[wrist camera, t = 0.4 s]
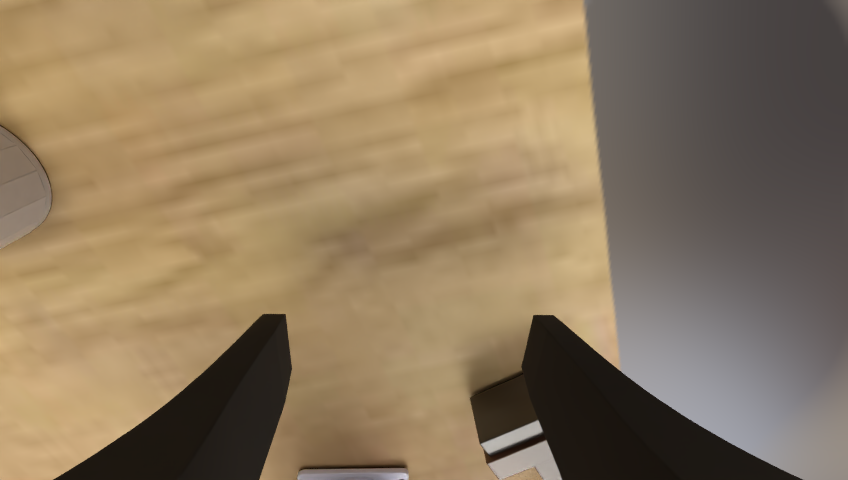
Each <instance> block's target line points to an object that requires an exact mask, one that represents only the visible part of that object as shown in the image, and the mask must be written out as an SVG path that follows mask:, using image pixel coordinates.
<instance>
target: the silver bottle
mask: <svg viewBox="0 0 848 480" xmlns="http://www.w3.org/2000/svg"><path fill="white" fill-rule="evenodd" d="M51 201H52V194H51V187H50V184H49V180H48V178H47V176H46V173H45V171H44V169H43V168H42V166H41V164H40V163H39V161H38V160H37V158H36V157H35V156H34V155H33V153H32V152H31V151H30V150H29V149H28V148H27V147H26V146H25V145H24V144H23V143H22V142H21V141H20V140H19V139H18V138H16V137H15V136H14V135H13V134H11V133H10V132H9V131H7V130H6V129H4V128H3V127H1V126H0V249H2V248H4V247H5V246H7V245H9V244H11V243H12V242H14V241H16V240H18V239H20V238H21V237H23V236H25V235H27V234H29V233H30V232H31V231H32V230H33V229H35V228H36V227H38V226H39V225H40V224H41V223H42V222H43V221H44V220H45V218H46V217H47V215H48V213H49V211H50V207H51Z"/></svg>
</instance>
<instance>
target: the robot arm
mask: <svg viewBox="0 0 848 480" xmlns="http://www.w3.org/2000/svg"><path fill="white" fill-rule="evenodd" d="M522 370H523V374H524V378H525V382H526V386H527V390H528V393H529V397H530V400H531V403H532V405H533V408H534V410H535V413H536V416H537V418H538V421H539V423H540V426H541V428H542V431H543V433H544V435H545V438H546V440H547V443H548V445H549V448H550V450H551V453H552V455H553V458H554V460H555V463H556V465H557V468H558V470H559V472H560V475H561V478H562V480H802V479H800V478H798V477H796V476H794V475H791V474H789V473H787V472H785V471H783V470H781V469H779V468H777V467H775V466H773V465H771V464H769V463H767V462H765V461H763V460H761V459H759V458H757V457H755V456H753V455H751V454H749V453H747V452H746V451H744V450H742V449H740V448H738V447H736V446H734V445H732V444H731V443H729V442H727V441H725V440H723V439H722V438H720V437H718V436H716V435H715V434H713V433H711V432H710V431H708V430H706V429H704V428H703V427H701V426H699V425H698V424H696V423H694V422H693V421H691V420H689V419H688V418H686V417H685V416H683V415H681V414H680V413H678V412H677V411H675V410H674V409H672V408H671V407H669V406H668V405H666V404H665V403H663V402H662V401H660V400H659V399H657V398H656V397H654V396H653V395H651V394H650V393H649V392H647V391H646V390H644V389H643V388H642V387H640V386H639V385H638V384H636V383H635V382H634V381H632V380H631V379H630V378H628V377H627V376H626V375H624V374H623V373H622V372H621V371H619V370H618V369H617V368H616V367H614V366H613V365H612V364H611V363H609V362H608V361H607V360H606V359H604V358H603V357H602V356H601V355H600V354H598V353H597V352H596V351H595V350H594V349H593V348H591V347H590V346H589V345H588V344H587V343H586V342H584V341H583V340H582V339H581V338H580V337H579V336H577V335H576V334H575V333H574V332H573V331H572V330H570V329H569V328H568V327H567V326H566V325H565V324H563V323H562V322H561V321H560V320H559V319H557V318H556V317H555V316H554V315H533V320H532V324H531V328H530V333H529V337H528V341H527V346H526V350H525V355H524V359H523V363H522ZM291 371H292V365H291V357H290V348H289V340H288V331H287V323H286V314H263V315H262V316H261V317H260V318H259V319H258V320H256V321H255V322H254V323H253V324H252V326H251V327H250V328H249V329H248V330H247V331H246V332H245V333H244V334H243V335H242V336H241V337H240V338H239V339H238V340H237V341H236V342H235V343H234V344H233V345H232V346H231V347H230V348H229V349H228V350H227V351H225V352H224V353H223V354H222V355H221V356H220V357H219V358H218V359H217V360H216V361H215V362H214V363H213V364H212V365H211V366H210V367H209V368H208V369H207V370H205V371H204V372H203V373H202V374H201V375H200V376H199V377H197V378H196V379H195V380H194V381H193V382H192V383H191V384H189V385H188V386H187V387H186V388H185V389H184V390H183V391H181V392H180V393H179V394H178V395H177V396H175V397H174V398H173V399H172V400H171V401H169V402H168V403H167V404H166V405H164V406H163V407H162V408H160V409H159V410H158V411H156V412H155V413H154V414H152V415H151V416H150V417H148V418H147V419H146V420H144V421H143V422H142V423H140V424H139V425H137V426H136V427H135V428H133V429H132V430H130V431H129V432H127V433H126V434H124V435H123V436H121V437H120V438H118V439H117V440H115V441H114V442H112V443H111V444H109V445H108V446H106V447H105V448H103V449H102V450H100V451H99V452H97V453H96V454H94V455H93V456H91V457H90V458H88V459H87V460H85V461H83V462H82V463H80V464H79V465H77V466H75V467H74V468H72V469H70V470H69V471H67V472H65V473H64V474H62V475H60V476H59V477H57V478H55V479H54V480H259V478H260V475H261V472H262V469H263V466H264V463H265V460H266V458H267V455H268V452H269V449H270V446H271V443H272V440H273V437H274V434H275V431H276V428H277V425H278V422H279V419H280V416H281V413H282V410H283V407H284V404H285V400H286V395H287V390H288V386H289V381H290V376H291ZM408 478H409V472H408V470H407V469H405V468H360V469H304V470H301V471H299V472H298V476H297V480H408Z"/></svg>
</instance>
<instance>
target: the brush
mask: <svg viewBox="0 0 848 480" xmlns="http://www.w3.org/2000/svg"><path fill="white" fill-rule="evenodd" d="M470 401H471V405H472V410H473V415H474V419H475V424H476V429H477V433H478V438H479V442H480V445H481V446H482V447H483V449H484V454H485V458H486V463H487V465H488V466H489V467H490V468H491V470H492V471H493V472H494V474H495V475H496V476H497V477H498V479H499V480H502V479H504V478H507V477H510V476H512V475H515V474H517V473H520V472H522V471H525V470H527V469H530V468H532V467H535V469H536V470H537V472H538V473H539V474H540V476H541V477H542V479H543V480H562V478H561V475H560V472H559V470H558V468H557V465H556V463H555V460H554V458H553V455H552V453H551V450H550V448H549V445H548V443H547V440H546V438H545V435H544V433H543V431H542V428H541V426H540V423H539V421H538V418H537V416H536V413H535V410H534V408H533V405H532V403H531V400H530V397H529V393H528V390H527V386H526V382H525V378H524V374H523V375H521V376H518V377H516V378H514V379H512V380H509V381H507V382H505V383H502V384H500V385H498V386H496V387H493V388H491V389H489V390H486V391H484V392H482V393H480V394H477V395H475V396H473V397H471V398H470Z"/></svg>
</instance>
